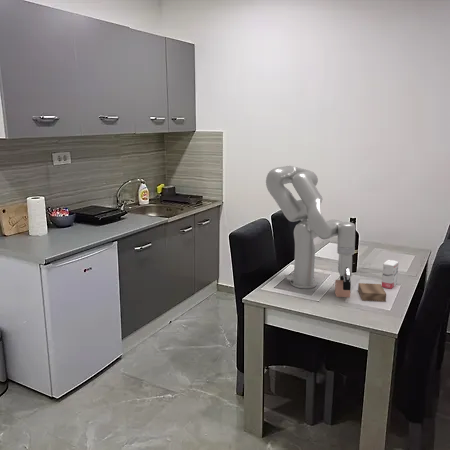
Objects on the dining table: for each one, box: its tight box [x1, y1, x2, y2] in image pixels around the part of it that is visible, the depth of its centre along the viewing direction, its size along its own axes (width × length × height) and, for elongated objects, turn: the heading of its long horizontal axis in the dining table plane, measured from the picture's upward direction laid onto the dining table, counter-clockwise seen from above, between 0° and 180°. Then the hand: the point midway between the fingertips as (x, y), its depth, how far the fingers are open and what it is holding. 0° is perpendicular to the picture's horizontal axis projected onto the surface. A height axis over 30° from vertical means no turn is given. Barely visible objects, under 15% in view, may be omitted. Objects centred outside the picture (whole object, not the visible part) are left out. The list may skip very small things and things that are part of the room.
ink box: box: [381, 259, 400, 290], centre depth 213 cm, size 9×5×12 cm, turn 142°
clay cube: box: [334, 279, 351, 298], centre depth 203 cm, size 6×6×6 cm
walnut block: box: [357, 282, 387, 303], centre depth 201 cm, size 10×12×4 cm
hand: (345, 286), depth 201 cm, fingers open, 9 cm apart
